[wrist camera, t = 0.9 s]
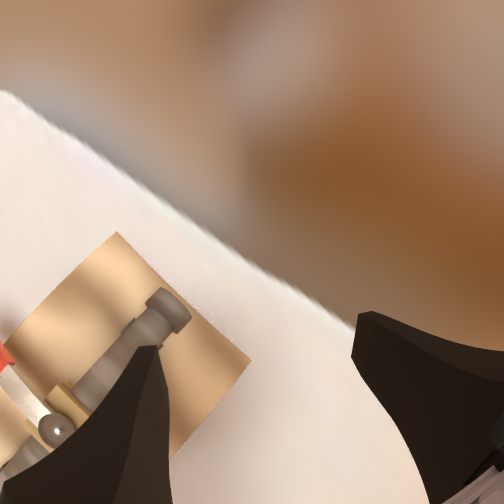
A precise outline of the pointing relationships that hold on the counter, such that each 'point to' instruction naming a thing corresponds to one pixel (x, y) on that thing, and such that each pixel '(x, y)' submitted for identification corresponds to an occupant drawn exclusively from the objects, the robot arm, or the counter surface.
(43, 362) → the valve board
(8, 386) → the valve lever
